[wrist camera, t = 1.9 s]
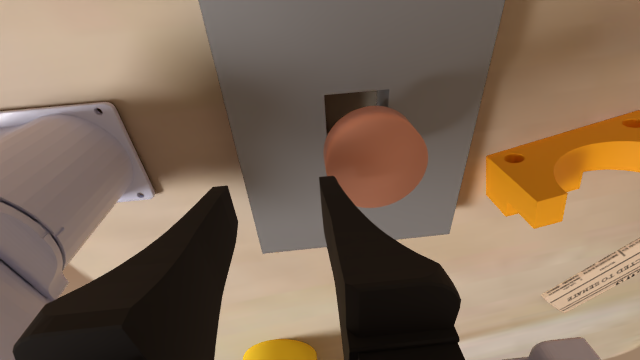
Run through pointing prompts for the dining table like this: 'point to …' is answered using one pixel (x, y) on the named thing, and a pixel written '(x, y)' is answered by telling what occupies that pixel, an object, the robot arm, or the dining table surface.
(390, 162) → the knob
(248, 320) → the dining table surface
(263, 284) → the dining table surface
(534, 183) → the pipe clamp
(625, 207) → the dining table surface
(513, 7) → the dining table surface
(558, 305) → the newspaper
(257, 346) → the yellow toilet paper roll
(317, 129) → the plate
